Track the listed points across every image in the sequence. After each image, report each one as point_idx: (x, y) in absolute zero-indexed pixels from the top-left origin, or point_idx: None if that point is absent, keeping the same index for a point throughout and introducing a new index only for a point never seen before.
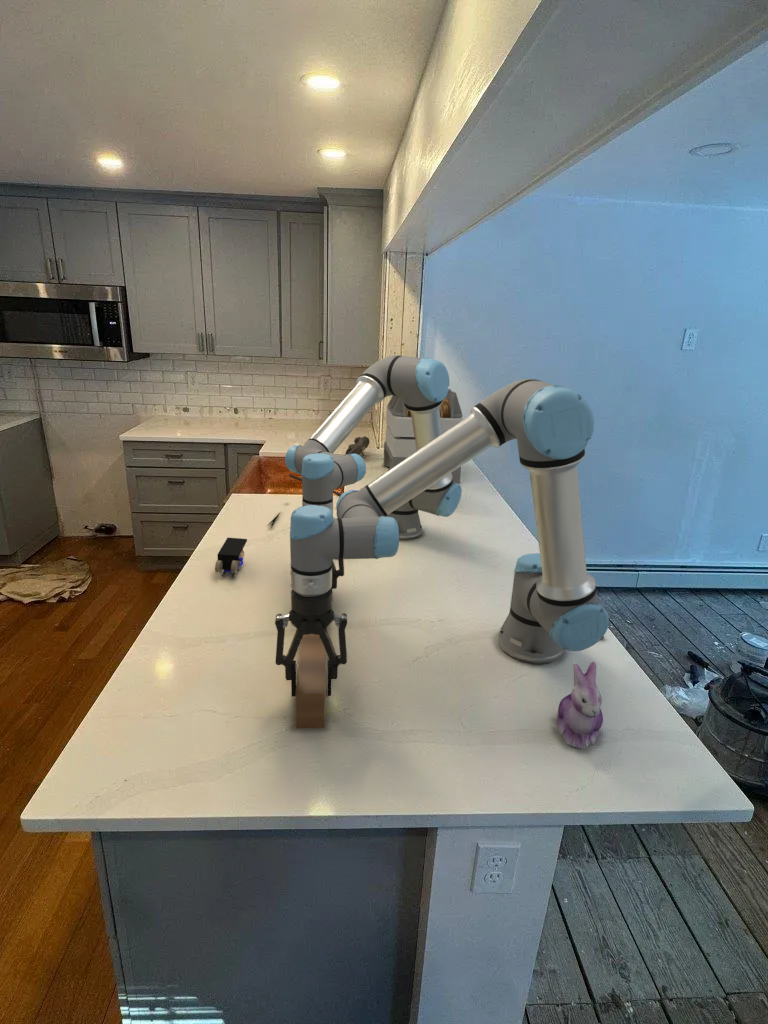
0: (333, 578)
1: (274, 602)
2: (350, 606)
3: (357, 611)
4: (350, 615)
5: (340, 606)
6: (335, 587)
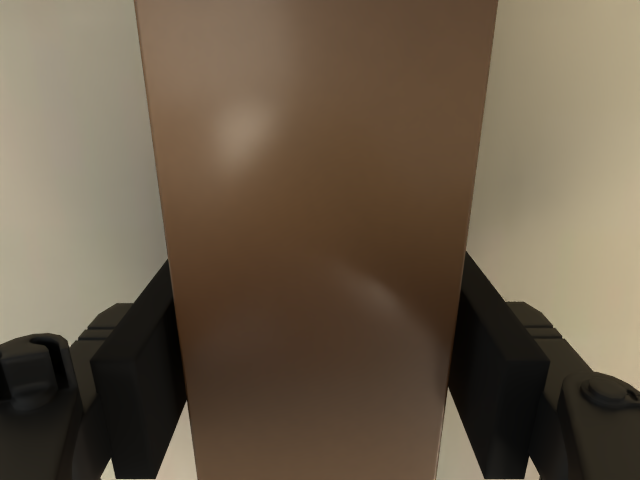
0: (61, 358)
1: (618, 301)
2: (80, 248)
3: (14, 177)
4: (56, 116)
5: (153, 248)
6: (117, 311)
